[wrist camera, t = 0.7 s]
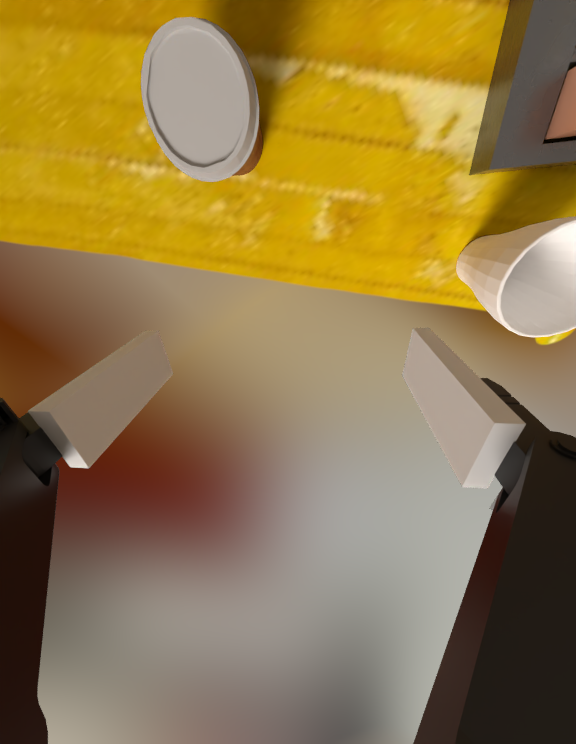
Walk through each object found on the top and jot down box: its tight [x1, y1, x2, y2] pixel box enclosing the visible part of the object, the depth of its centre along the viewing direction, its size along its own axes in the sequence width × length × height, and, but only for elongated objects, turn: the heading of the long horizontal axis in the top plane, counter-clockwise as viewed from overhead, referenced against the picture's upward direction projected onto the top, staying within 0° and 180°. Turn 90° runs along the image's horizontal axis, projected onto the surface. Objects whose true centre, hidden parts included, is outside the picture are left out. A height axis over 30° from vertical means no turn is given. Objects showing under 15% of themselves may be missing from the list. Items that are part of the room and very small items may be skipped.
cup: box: [456, 217, 576, 337], centre depth 28 cm, size 10×10×14 cm
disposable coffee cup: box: [141, 17, 263, 182], centre depth 25 cm, size 10×10×12 cm
